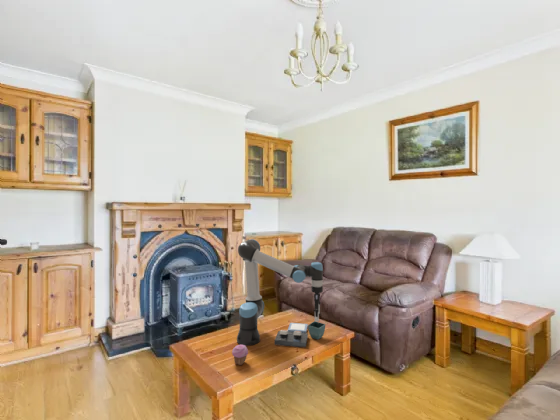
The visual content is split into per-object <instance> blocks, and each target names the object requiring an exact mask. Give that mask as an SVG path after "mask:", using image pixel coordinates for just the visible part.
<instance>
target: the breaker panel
mask: <svg viewBox="0 0 560 420" xmlns="http://www.w3.org/2000/svg"><path fill="white" fill-rule="evenodd" d="M280 331H281V330H279V331H277V334H276V335H275V338H274V346H285V347H294V348H295V347H298V348H307V344H308V339H309V338H308V335H309V334H308V333H309V332H308V333H307V332H306V333H302V335H294V332H288V334H287V335H285V334H280Z"/></svg>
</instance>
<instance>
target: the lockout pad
mask: <svg viewBox="0 0 560 420" xmlns="http://www.w3.org/2000/svg"><path fill="white" fill-rule="evenodd" d="M308 325H309V323H299V322H290V323H289V325H288V328H287V331H288V332H294V331H301V332H302V333H307V331H308Z"/></svg>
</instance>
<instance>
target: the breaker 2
mask: <svg viewBox="0 0 560 420" xmlns="http://www.w3.org/2000/svg"><path fill="white" fill-rule="evenodd" d="M294 335H302V332H301V331H294Z"/></svg>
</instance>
